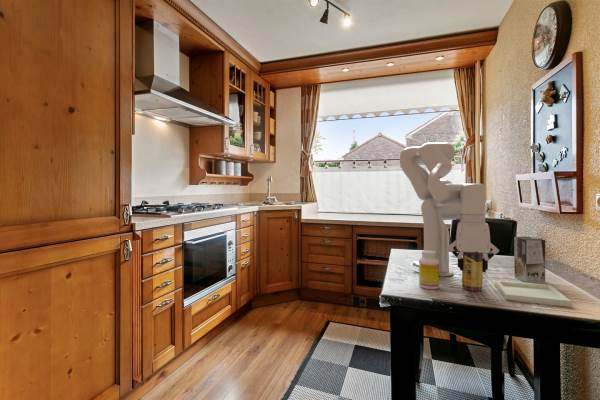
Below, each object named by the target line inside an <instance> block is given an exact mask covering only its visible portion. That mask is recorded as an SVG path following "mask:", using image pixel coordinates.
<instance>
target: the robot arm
mask: <svg viewBox="0 0 600 400" xmlns="http://www.w3.org/2000/svg"><path fill="white" fill-rule="evenodd" d="M455 156H456V149H455V147H454V146H453V145H452V144H451V143H450V142H446V141H445V142H442V141H441V142H438V141H437V142H435V141H434V142H432V141H431V142H426V143H423V144H422V145H421V146H409V147H406V148H404V149H402V150H401V152H400V154H399V164H400V168H401V170H402V172H403V174H405V176H406V177H407V179H408V180H409V182H410V183H411V185H412V188H413V190H414V191H415V194H416V196H417V197H418V199H419V200H421V201H422V203H421V205H420V206H421V207H420V210H421V215H422V221H423V245H424V246H423V251H424V250H430V251H435V252H436V256H435V258H436V259H438V261H439V277H451V276H453V275H454V270H453V269H451V268H450V253H452V254H453V256H455V257H456V259H457V268H459V271H461V272H462V270H463V259H462V258H463V253H464V252H468V253H471V252H476V251H477V252H478V253H482V254H483V274H484V273H487V271H488V269H489V267H488V266H489V261H490V260H491V259H492V258H493V257H494V256H495V255H496V254H498V253H499V252H500V249H499V248H497V246H496V245H494V244H493V243H492V242H491V234H490V226H489V223H487V222H486V186H485V185H484V184H483V183H458V182H457V183H455V182H454V183H453V182H452V181H450V180H449V179H442V178H444V177H446V176H448V174H450V172H452V169H453V164H452V162H451V161H453V160H454V158H455ZM421 165H423V166H424V165H425V167H426V168H427V170H426V169H425V167H422V166H421ZM428 171H429V172H428ZM454 220H455V221H456V220H459V222H457V226H456V234H455V240H454V241H452V242H451V243H450V231H449V228H448V226H447V224H446V223H445V221H454ZM454 247H455V248H456V250H455V249H454ZM491 249H492V250H491ZM412 266H414V267H415V268H419V261H415V260H414V261H412Z"/></svg>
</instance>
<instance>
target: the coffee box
mask: <svg viewBox="0 0 600 400" xmlns="http://www.w3.org/2000/svg"><path fill="white" fill-rule="evenodd" d="M513 239H514V241H513V242H514V243H513V245H514V246H513V247H514V248H513V249H514V250H513V251H514V254H513V255H514V257H513V259H514V260H513V261H514V277H515V278H516V279H518V280H520V281H521V282H523V283H534V284H546V239H542V238H538V237H533V236H514V238H513Z"/></svg>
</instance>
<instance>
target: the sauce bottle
mask: <svg viewBox="0 0 600 400" xmlns="http://www.w3.org/2000/svg"><path fill="white" fill-rule="evenodd" d="M462 259H463V270H462V271H461V283H462V284H461V286H462V288H463V289H464V290H467V291H469V292H480V291H482V289H483V274H484V272H483V254H482V253H478V252H477V251H476V252H471V253H468V252H464V253H463V255H462Z"/></svg>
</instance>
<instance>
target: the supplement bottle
mask: <svg viewBox="0 0 600 400" xmlns="http://www.w3.org/2000/svg"><path fill="white" fill-rule="evenodd" d="M421 255H422V257H420V258H419V260H418V262H419V267H418V284H419V286H420V288H422V289H426V290H437V289H439V288H440V276H439V261H438V259H436V258H435V256H436V252H435V251H430V250H424V249H423V250H422V251H421Z"/></svg>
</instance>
